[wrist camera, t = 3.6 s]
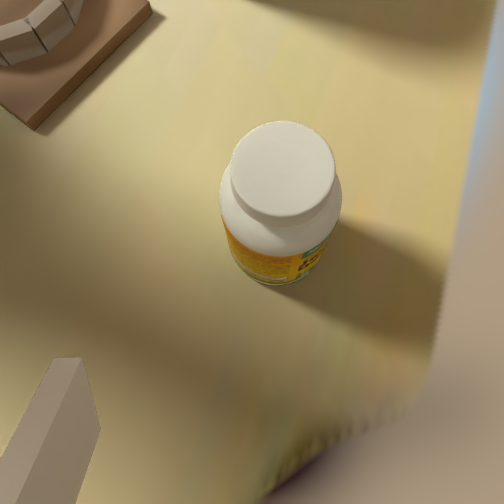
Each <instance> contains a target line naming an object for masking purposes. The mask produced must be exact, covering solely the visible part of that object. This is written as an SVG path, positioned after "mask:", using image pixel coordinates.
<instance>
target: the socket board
mask: <svg viewBox="0 0 504 504" xmlns="http://www.w3.org/2000/svg"><path fill="white" fill-rule="evenodd" d="M151 14H152V10H151V6H150V3H149V1H148V0H0V105H1V106H2V107H4V108H5V109H6V110H7V111H9V112H10V113H11V114H13V115H14V116H15V117H16V118H18V119H19V120H20V121H22V122H23V123H24V124H25V125H27V126H28V127H29V128H31V129H32V130H33V131H34V130H35V129H36V128H37V127H38V126H39V125H40V124H41V123H42V122H43V121H44V120H45V119H46V118H47V117H48V116H49V115H50V114H51V113H52V112H53V111H54V110H55V109H56V108H57V107H58V106H59V105H60V104H61V103H62V102H63V101H64V100H65V99H66V98H67V97H68V96H69V95H70V94H71V93H72V92H74V91H75V90H76V89H77V88H78V87H79V86H80V85H81V84H82V83H83V82H84V81H85V80H86V79H87V78H88V77H89V76H90V75H91V74H92V73H93V72H94V71H95V70H96V69H97V68H98V67H99V66H100V65H101V64H102V63H103V62H104V61H105V60H106V59H107V58H108V57H109V56H110V55H111V54H112V53H113V52H114V51H115V50H116V49H117V48H118V47H119V46H120V45H121V44H122V43H123V42H124V41H125V40H126V39H127V38H128V37H129V36H130V35H131V34H132V33H133V32H134V31H135V30H136V29H137V28H138V27H139V26H140V25H141V24H142V23H143V22H144V21H145V20H146V19H147V18H148V17H149V16H150V15H151Z"/></svg>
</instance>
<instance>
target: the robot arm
mask: <svg viewBox="0 0 504 504" xmlns="http://www.w3.org/2000/svg"><path fill="white" fill-rule="evenodd" d="M100 429H101V427H100V424H99V420H98V416H97V412H96V408H95V404H94V401H93V397H92V393H91V389H90V385H89V382H88V378H87V374H86V370H85V366H84V362H83V359H82V357H74V358H54V359H53V361H52V363H51V365H50V367H49V369H48V370H47V372H46V374H45V376H44V378H43V380H42V382H41V384H40V385H39V387H38V389H37V391H36V393H35V395H34V397H33V399H32V400H31V402H30V404H29V406H28V408H27V410H26V412H25V414H24V416H23V417H22V419H21V421H20V423H19V425H18V427H17V429H16V431H15V432H14V434H13V436H12V438H11V440H10V442H9V444H8V446H7V447H6V449H5V451H4V453H3V455H2V457H1V459H0V504H75V503H76V500H77V497H78V494H79V491H80V488H81V485H82V482H83V479H84V476H85V473H86V470H87V467H88V465H89V462H90V459H91V456H92V453H93V450H94V447H95V444H96V441H97V438H98V435H99V432H100Z"/></svg>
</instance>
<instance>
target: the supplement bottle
mask: <svg viewBox="0 0 504 504" xmlns="http://www.w3.org/2000/svg"><path fill="white" fill-rule="evenodd" d="M341 203H342V192H341V185H340V182H339V179H338V176H337V174H336V167H335V160H334V156H333V153H332V151H331V149H330V147H329V145H328V144H327V142H326V141H325V140H324V139H323V137H322V136H321V135H319V134H318V133H317V132H316V131H314V130H312V129H311V128H309V127H307V126H305V125H303V124H300V123H296V122H291V121H274V122H269V123H265V124H262V125H260V126H258V127H256V128H254V129H252V130H251V131H250V132H248V133H247V134H246V135H245V136H244V137H243V138H242V139H241V140H240V141H239V143H238V144H237V146H236V148H235V150H234V152H233V154H232V158H231V163H230V164H229V165H228V167H227V169H226V170H225V172H224V175H223V177H222V180H221V184H220V190H219V205H220V211H221V217H222V220H223V223H224V227H225V231H226V235H227V239H228V243H229V247H230V250H231V253H232V256H233V258H234V260H235V262H236V263H237V265H238V266H239V268H240V269H241V270H242V271H243V272H244V273H245V274H246V275H248V276H249V277H251V278H252V279H254V280H256V281H258V282H261V283H264V284H268V285H284V284H288V283H292V282H295V281H297V280H299V279H301V278H303V277H304V276H306V275H307V274H309V273H310V272H311V271H312V270H313V268H314V267H315V266H316V264H317V263H318V261H319V259H320V257H321V255H322V253H323V251H324V248H325V247H326V244H327V242H328V240H329V238H330V235H331V233H332V231H333V229H334V227H335V225H336V223H337V220H338V217H339V214H340V209H341Z"/></svg>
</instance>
